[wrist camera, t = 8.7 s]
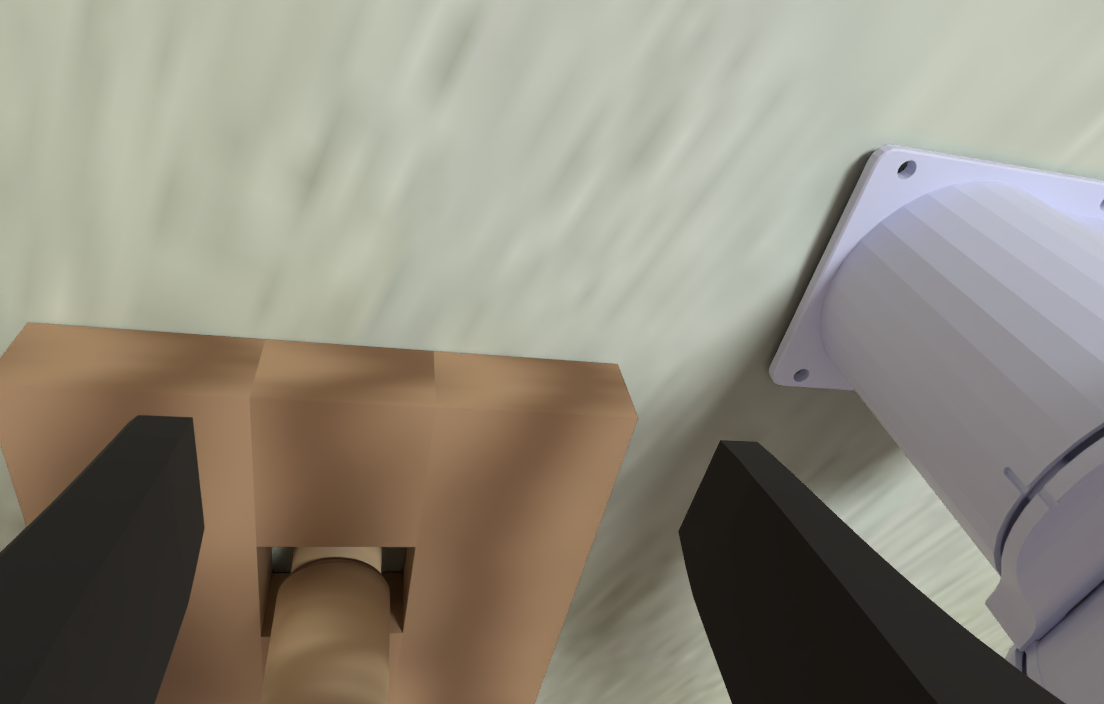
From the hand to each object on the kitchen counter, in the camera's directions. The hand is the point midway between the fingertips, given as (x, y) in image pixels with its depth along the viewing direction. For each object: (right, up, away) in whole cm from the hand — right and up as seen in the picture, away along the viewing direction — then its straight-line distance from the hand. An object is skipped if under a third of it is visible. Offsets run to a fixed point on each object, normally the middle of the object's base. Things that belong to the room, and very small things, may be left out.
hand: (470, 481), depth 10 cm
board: (-6, -4, +15) cm, 16 cm away
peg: (-6, -4, +14) cm, 16 cm away
